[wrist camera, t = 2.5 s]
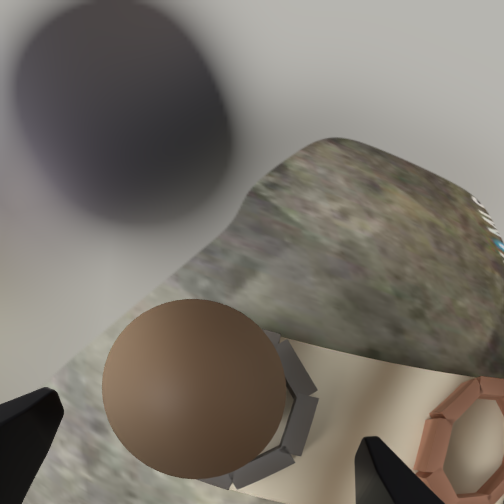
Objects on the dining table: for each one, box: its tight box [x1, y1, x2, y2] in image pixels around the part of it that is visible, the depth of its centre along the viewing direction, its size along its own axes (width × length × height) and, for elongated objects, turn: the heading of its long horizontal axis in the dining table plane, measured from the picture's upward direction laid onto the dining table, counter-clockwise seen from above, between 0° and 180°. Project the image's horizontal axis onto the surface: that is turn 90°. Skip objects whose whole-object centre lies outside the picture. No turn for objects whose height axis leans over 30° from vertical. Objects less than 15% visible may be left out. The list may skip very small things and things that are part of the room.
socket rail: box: [197, 329, 504, 504], centre depth 13 cm, size 23×9×3 cm, turn 72°
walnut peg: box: [102, 299, 286, 479], centre depth 10 cm, size 4×4×9 cm
